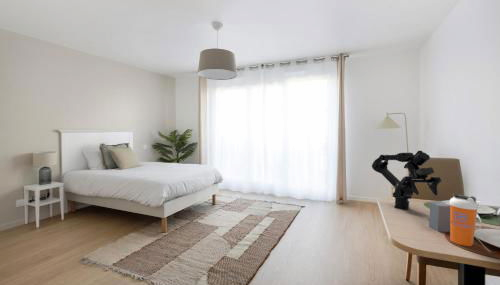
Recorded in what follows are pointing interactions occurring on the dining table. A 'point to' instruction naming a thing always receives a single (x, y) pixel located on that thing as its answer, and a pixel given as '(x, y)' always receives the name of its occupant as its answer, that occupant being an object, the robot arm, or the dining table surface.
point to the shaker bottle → (462, 219)
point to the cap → (439, 216)
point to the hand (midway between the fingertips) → (427, 194)
